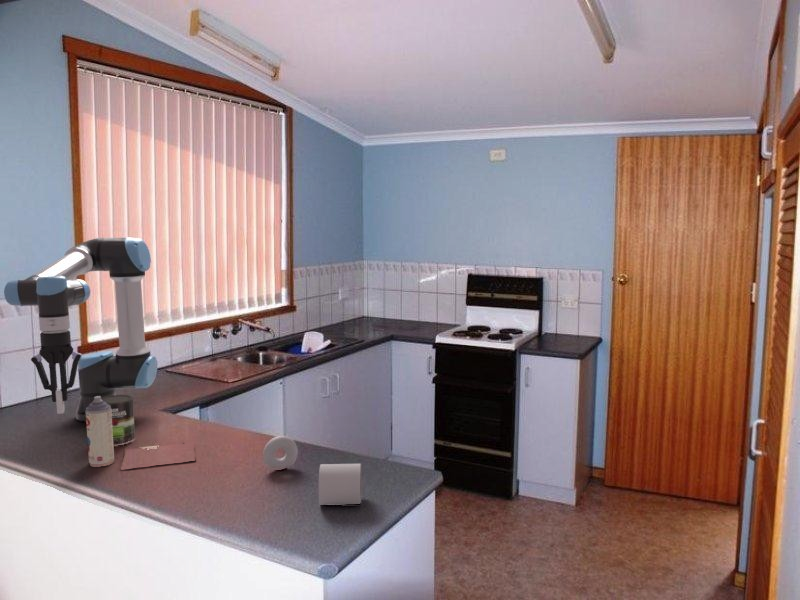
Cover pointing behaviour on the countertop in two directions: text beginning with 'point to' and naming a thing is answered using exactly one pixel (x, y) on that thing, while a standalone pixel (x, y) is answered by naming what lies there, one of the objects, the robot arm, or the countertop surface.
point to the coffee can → (121, 418)
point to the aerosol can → (99, 432)
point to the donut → (276, 444)
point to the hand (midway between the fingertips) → (60, 412)
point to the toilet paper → (340, 484)
